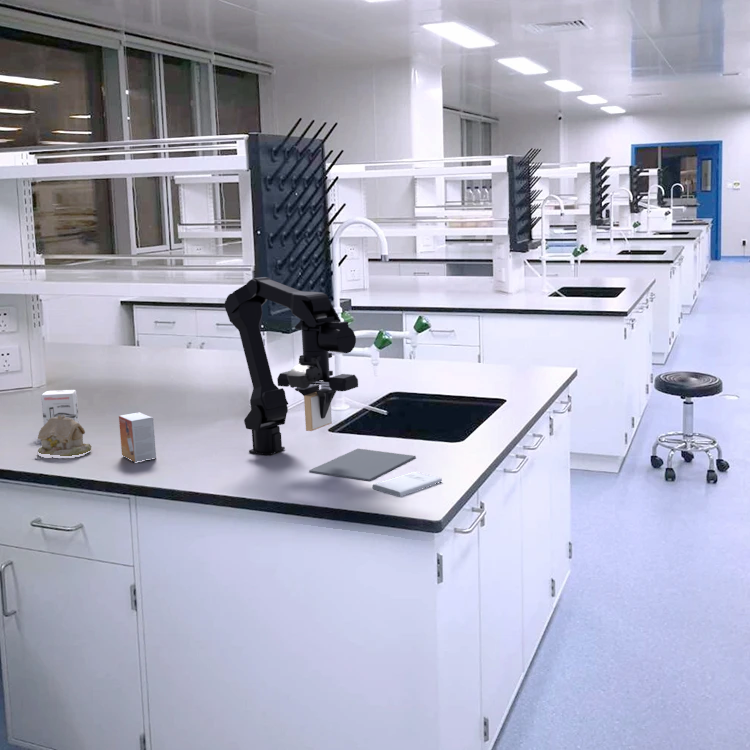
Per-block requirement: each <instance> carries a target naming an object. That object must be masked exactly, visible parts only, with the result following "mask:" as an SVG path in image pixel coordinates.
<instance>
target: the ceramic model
mask: <svg viewBox="0 0 750 750" xmlns="http://www.w3.org/2000/svg"><path fill="white" fill-rule="evenodd" d="M85 433H86V431H85V429H84V427H83V426H82V425H81V424H80V422H79V423H77V422H75V421H74V420H73V419H71V418H65V415H64V414H63V415H61V414H60V415H58V417H52V418H49V420H48V422H47V423H46V424H45V425H44V424H43V426H42V427H41V428H40V430H39V432H38V435H37V439H38V440H39V441H40V442H41V446H40V447H39V448H38V450H37V453H38V452H39V453H41V454H50V455H60V456H72V455H79V454H83V453H86V452H88V451H90V450H91V451H92V444H90V443H84V440H83V439H84V438H83V437H84V435H85Z"/></svg>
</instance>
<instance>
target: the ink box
mask: <svg viewBox="0 0 750 750" xmlns="http://www.w3.org/2000/svg"><path fill="white" fill-rule="evenodd" d="M77 393H78V392H77V390H76V389H60V390H59V389H58V390H57V389H56V390H46V391H45V392H43V393H42V394H41V396H40V398H41V399H40V400H41V408H42V410H41V411H42V420H43V421H42V422H43V426H44V425H45V424H46V423H47V422H48V420H49V418H52V417H58V415H60V414H61V415H63V414H64V415H65V418H71V419H73V420H74V421H75V422H77V423H79V424H80V418H79V408H78V394H77Z"/></svg>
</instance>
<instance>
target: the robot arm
mask: <svg viewBox="0 0 750 750" xmlns="http://www.w3.org/2000/svg"><path fill="white" fill-rule="evenodd" d="M329 298H330V297H329V295H327V294H326V293H324V292H320V291H319V292H318V291H303V290H300V289H299V290H298V289H296V288H293V287H291V286H289V285H285V284H283V283H280V282H277V281H275V280H273V279H272V278H270V277H267V276H263V277H262V276H261V277H254V278H251V279H249V281H248V282H247V283H245V284H244V285H242V286H241V287H239V288H238V289H236V290H234V291H232V293H229V294H228V295H227V297H226V299H225V301H224V309H225V312H226V315H227V317H228V320H229V322H230V323H231V324H232V325H233V326H234V327H235V328H236V329H237V330H238V332H239V337H240V341H241V344H242V348H243V352H244V356H245V359H246V360H245V361H246V364H247V369H248V372H249V376H250V380H251V384H252V392H251V395H250V400H249V405H250V411H249V412H248V414H247V415H246V417H245V418H244V419H243V423H244V425H245V428H246V429H247V430H250V431H251V438H252V439H251V441H252V448H251V449H249V450H248V453H250V454H251V453H252V454H258V455H265V456H271V455H274V454H275V453H278V452H281V451H284V450H285V449H286V447H285V446H283V444H282V443H283V442H282V433H281V430H280V428H281V427H280V426H281V425H282V426H283V425H285V424H286V418H287V413H289V412H288V410H289V407H288V405H289V402H288V400H287V398H286V392H285V391H286V390H285V389H284V388H279V387H290V388H293V389H294V390H295V391H296V392H299V393H300V394H301V395H302V396H303V397H304V396H305V395H308V394H311V393H314V392H317V394H318V395H319V401H320V415H321V418H322V419H323V418H325V416H326V414H327V411H328V409H329V406H330V403H331V404H332V401H333V399H334V397H335V395H336V393H337V392H346V391H350V390H353V389H356V388H358V387H359V379H358V377H357V376H356V374H349V373H341V374H338V375H335V376H334V375H333V374H334V372H333V371H334V370H330V358H332V357H333V353H341V354H349V353H351V352H352V351H353V350H354V348H355V347H356V342H357V335H356V334H355V332H354V330H353V329H352V328H351V327H349V322H348V321H344V320H343V321H341V319H340V317H339V314H338V313H337V312H336V309H335V308H334V306H333V304H332V303H331V301H330V299H329ZM267 301H270V302H273V303H275V304H278V305H281V306H283V307H285V308H288V309H289V310H290V312H291V314H292V315H293V316H294V317H296V318H298V319H299V322H298V323H297V324H296V325H295V326H294V329H295V330H301V339H302V340H301V344H302V355H301V354H300V355H299V358H298V364H297V365H295V366H293V367H292V369H290V370H288V371H285V372H284V371H283V372H280V373H279V375H278V377H277V378H276V379H277V385H276V384H275V382H274V380H273V376H272V372H271V368H270V363H269V360H268V355H267V352H266V348H265V344H264V339H263V336H262V332H261V329H260V323H261V320H262V317H263V307H262V306H264V304H266V303H267Z"/></svg>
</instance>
